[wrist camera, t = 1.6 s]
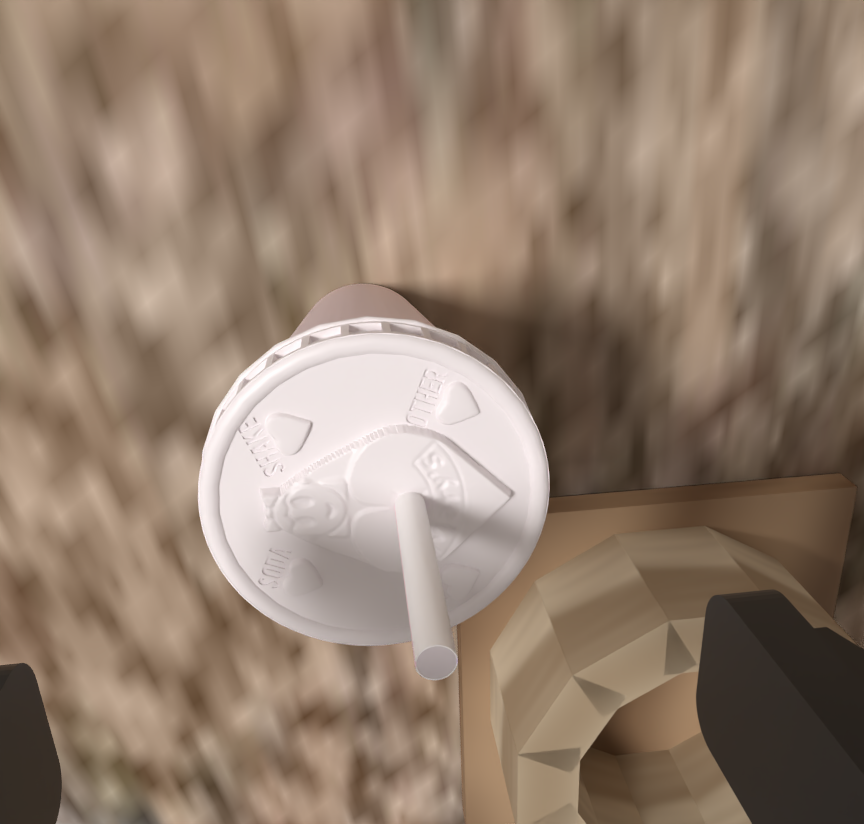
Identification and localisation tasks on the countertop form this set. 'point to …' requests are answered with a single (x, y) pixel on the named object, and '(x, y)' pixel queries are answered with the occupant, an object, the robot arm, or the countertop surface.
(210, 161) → the countertop surface
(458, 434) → the smoothie
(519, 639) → the bottle holder
